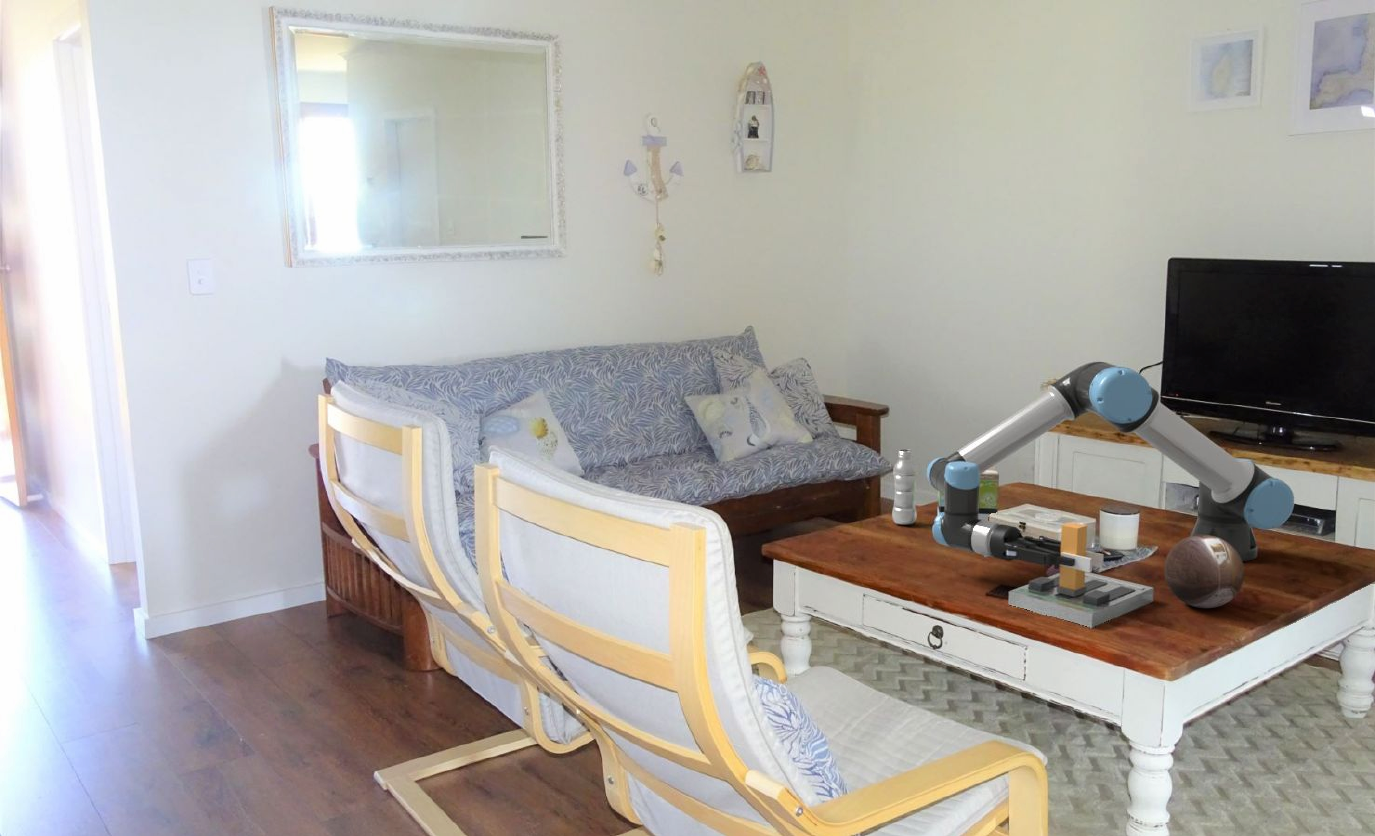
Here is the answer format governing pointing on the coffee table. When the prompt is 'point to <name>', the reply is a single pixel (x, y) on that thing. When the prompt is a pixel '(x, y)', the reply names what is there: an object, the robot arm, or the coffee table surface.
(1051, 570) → the video game controller
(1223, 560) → the wooden sphere
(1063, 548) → the handle
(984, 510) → the tea box
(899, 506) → the plastic bottle
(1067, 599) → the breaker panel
